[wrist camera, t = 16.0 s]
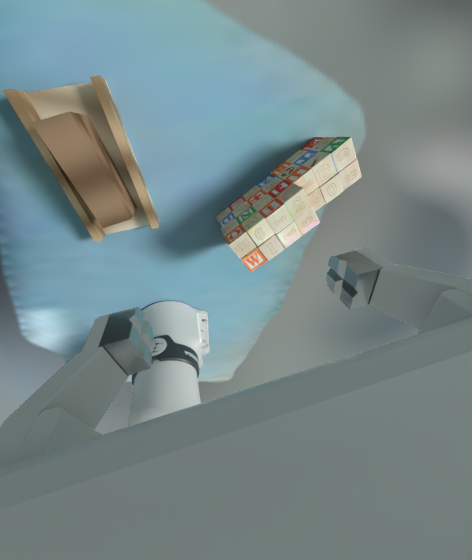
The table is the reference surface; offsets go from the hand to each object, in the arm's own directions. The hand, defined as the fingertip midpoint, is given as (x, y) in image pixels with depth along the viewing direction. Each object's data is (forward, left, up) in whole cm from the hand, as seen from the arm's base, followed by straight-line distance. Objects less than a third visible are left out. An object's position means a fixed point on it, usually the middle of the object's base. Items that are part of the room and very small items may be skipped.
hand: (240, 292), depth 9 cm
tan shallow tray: (+3, +12, -31) cm, 34 cm away
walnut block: (+3, +12, -30) cm, 33 cm away
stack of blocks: (-6, -13, -32) cm, 35 cm away
